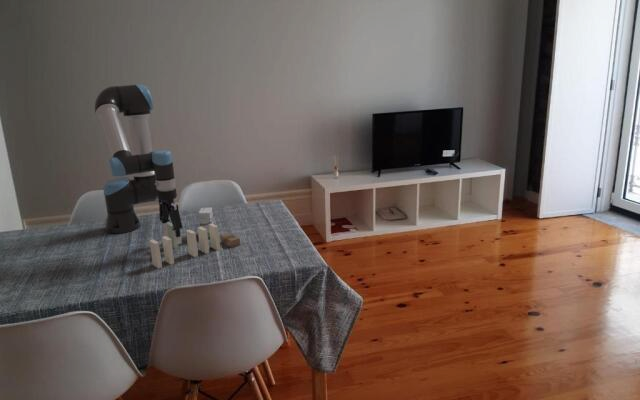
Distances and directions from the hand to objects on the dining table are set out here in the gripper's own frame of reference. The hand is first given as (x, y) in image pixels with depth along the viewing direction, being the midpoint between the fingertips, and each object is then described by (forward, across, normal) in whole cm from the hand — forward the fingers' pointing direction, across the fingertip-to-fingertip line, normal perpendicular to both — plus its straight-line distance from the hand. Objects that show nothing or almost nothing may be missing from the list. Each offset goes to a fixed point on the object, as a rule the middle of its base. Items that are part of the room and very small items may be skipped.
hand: (173, 240), depth 210 cm
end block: (+3, +14, +19) cm, 24 cm away
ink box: (+3, -2, +17) cm, 17 cm away
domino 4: (+3, +14, +2) cm, 14 cm away
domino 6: (+3, +14, +12) cm, 19 cm away
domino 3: (+3, +14, -8) cm, 16 cm away
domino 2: (+3, 0, 0) cm, 3 cm away
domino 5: (+3, +14, +7) cm, 16 cm away
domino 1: (+3, +14, -13) cm, 19 cm away
